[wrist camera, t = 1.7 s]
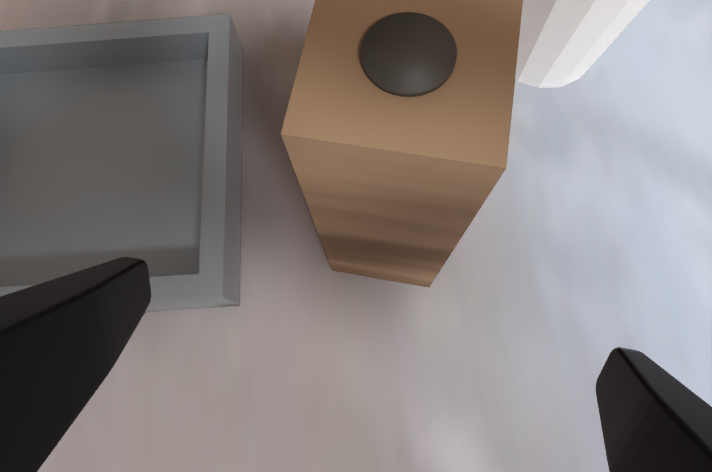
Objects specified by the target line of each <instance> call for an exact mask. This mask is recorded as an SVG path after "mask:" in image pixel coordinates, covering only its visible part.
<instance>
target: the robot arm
mask: <svg viewBox="0 0 712 472" xmlns="http://www.w3.org/2000/svg"><path fill="white" fill-rule="evenodd" d="M150 301H151V286H150V279H149V271H148V265H147V263H146V262H145V261H144V260H142V259H138V258H132V257H120V258H117V259H114V260H111V261H108V262H105V263H102V264H99V265H96V266H93V267H90V268H86V269H83V270H80V271H77V272H74V273H71V274H68V275H65V276H62V277H59V278H56V279H53V280H49V281H46V282H43V283H40V284H37V285H34V286H31V287H28V288H25V289H22V290H19V291H16V292H13V293H9V294H6V295H3V296H0V472H37V471H38V470H39V468H40V467H41V466H42V464H43V463H44V461H45V460H46V459H47V457H48V456H49V455H50V453H51V452H52V451H53V449H54V448H55V446H56V445H57V444H58V442H59V441H60V440H61V438H62V437H63V435H64V434H65V433H66V431H67V430H68V429H69V427H70V426H71V424H72V423H73V422H74V420H75V419H76V418H77V416H78V415H79V413H80V412H81V411H82V409H83V408H84V407H85V405H86V404H87V402H88V401H89V400H90V398H91V397H92V396H93V394H94V393H95V391H96V390H97V389H98V387H99V386H100V385H101V383H102V382H103V381H104V379H105V378H106V376H107V375H108V373H109V372H110V370H111V369H112V367H113V366H114V364H115V363H116V361H117V359H118V358H119V356H120V354H121V353H122V351H123V349H124V347H125V346H126V344H127V342H128V341H129V339H130V337H131V335H132V334H133V332H134V330H135V328H136V327H137V325H138V323H139V322H140V320H141V318H142V316H143V315H144V313H145V311H146V309H147V308H148V306H149V304H150ZM596 396H597V402H598V408H599V414H600V420H601V426H602V432H603V438H604V444H605V450H606V456H607V461H608V466H609V471H610V472H712V407H711V406H710V405H708V404H707V403H706V402H705V401H703V400H702V399H701V398H700V397H698V396H697V395H696V394H694V393H693V392H692V391H691V390H689V389H688V388H687V387H685V386H684V385H683V384H682V383H680V382H679V381H678V380H677V379H675V378H674V377H673V376H671V375H670V374H669V373H668V372H666V371H665V370H664V369H662V368H661V367H660V366H659V365H657V364H656V363H655V362H654V361H652V360H651V359H650V358H648V357H647V356H646V355H645V354H643V353H642V352H640V351H637V350H632V349H626V348H621V347H618V348H615V349H613V350H612V351H611V353H610V355H609V357H608V359H607V361H606V363H605V365H604V367H603V369H602V371H601V373H600V375H599V377H598V379H597V382H596Z"/></svg>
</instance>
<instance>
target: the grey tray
mask: <svg viewBox="0 0 712 472" xmlns="http://www.w3.org/2000/svg"><path fill="white" fill-rule="evenodd" d="M242 110H243V46H242V44H241V41H240V39H239V36H238V34H237V31H236V29H235V26H234V24H233V21H232V18H231V16H230V14H223V15H209V16H196V17H183V18H169V19H156V20H143V21H129V22H116V23H102V24H89V25H76V26H62V27H49V28H36V29H22V30H9V31H0V296H3V295H6V294H9V293H13V292H16V291H19V290H22V289H25V288H28V287H31V286H34V285H37V284H40V283H43V282H46V281H49V280H53V279H56V278H59V277H62V276H65V275H68V274H71V273H74V272H77V271H80V270H83V269H86V268H90V267H93V266H96V265H99V264H102V263H105V262H108V261H111V260H114V259H117V258H120V257H132V258H138V259H142V260H144V261H145V262H146V263H147V265H148V271H149V279H150V286H151V301H150V304H149V306H148V308H147V309H146V311H145V312H150V311H166V310H181V309H196V308H211V307H227V306H240V251H241V181H242Z"/></svg>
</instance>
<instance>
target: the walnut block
mask: <svg viewBox="0 0 712 472" xmlns="http://www.w3.org/2000/svg"><path fill="white" fill-rule="evenodd" d="M522 5H523V0H315V4H314V8H313V12H312V15H311V19H310V23H309V27H308V31H307V35H306V38H305V42H304V46H303V50H302V54H301V58H300V61H299V65H298V69H297V73H296V77H295V81H294V84H293V88H292V92H291V96H290V100H289V104H288V108H287V111H286V115H285V119H284V123H283V127H282V131H281V136H282V139H283V142H284V144H285V147H286V150H287V152H288V155H289V158H290V160H291V163H292V165H293V168H294V171H295V173H296V176H297V179H298V181H299V184H300V187H301V189H302V192H303V195H304V197H305V200H306V203H307V205H308V208H309V210H310V213H311V216H312V218H313V221H314V224H315V226H316V229H317V232H318V234H319V237H320V240H321V242H322V245H323V247H324V250H325V253H326V255H327V258H328V261H329V263H330V266H331V269H332V270H333V271H339V272H345V273H350V274H356V275H362V276H367V277H373V278H379V279H384V280H390V281H396V282H401V283H407V284H413V285H419V286H424V287H430V285H431V284H432V282H433V280H434V279H435V277H436V276H437V274H438V273H439V271H440V270H441V268H442V267H443V265H444V263H445V262H446V260H447V259H448V257H449V256H450V254H451V253H452V251H453V249H454V248H455V246H456V245H457V243H458V242H459V240H460V239H461V237H462V236H463V234H464V232H465V231H466V229H467V228H468V226H469V225H470V223H471V222H472V220H473V219H474V217H475V215H476V214H477V212H478V211H479V209H480V208H481V206H482V205H483V203H484V202H485V200H486V198H487V197H488V195H489V194H490V192H491V191H492V189H493V188H494V186H495V185H496V183H497V181H498V180H499V178H500V177H501V175H502V174H503V172H504V171H505V169H506V164H507V154H508V144H509V134H510V124H511V114H512V104H513V95H514V85H515V75H516V65H517V55H518V45H519V35H520V25H521V15H522Z"/></svg>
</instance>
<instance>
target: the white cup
mask: <svg viewBox="0 0 712 472" xmlns="http://www.w3.org/2000/svg"><path fill="white" fill-rule="evenodd" d="M648 2H649V0H523V5H522V15H521V25H520V35H519V45H518V55H517V65H516V75H515V80H516V81H517V82H521V83H524V84H527V85H531V86H534V87H537V88H546V87H561V86H563V85H566V84H568V83H571V82H573V81H575V80H578V79H579V78H580V77H581V76H582V75H583V74H584V73H585V72H586V71H587V70H588V68H589V67H590V66H591V65H592V64H593V63H594V62H595V61H596V60H597V59H598V57H599V56H600V55H601V54H602V53H603V52H604V51H605V50H606V48H607V47H608V46H609V45H610V44H611V43H612V42H613V41H614V40H615V38H616V37H617V36H618V35H619V34H620V33H621V32H622V31H623V29H624V28H625V27H626V26H627V25H628V24H629V23H630V22H631V21H632V19H633V18H634V17H635V16H636V15H637V14H638V13H639V12H640V10H641V9H642V8H643V7H644V6H645V5H646V4H647V3H648Z"/></svg>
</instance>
